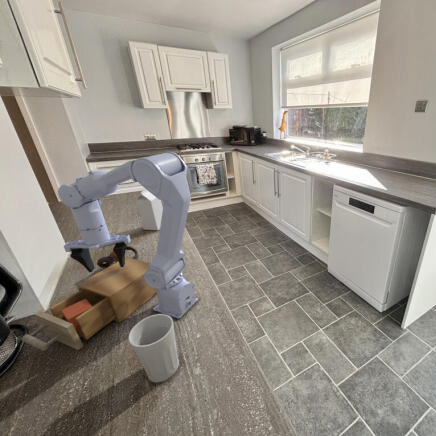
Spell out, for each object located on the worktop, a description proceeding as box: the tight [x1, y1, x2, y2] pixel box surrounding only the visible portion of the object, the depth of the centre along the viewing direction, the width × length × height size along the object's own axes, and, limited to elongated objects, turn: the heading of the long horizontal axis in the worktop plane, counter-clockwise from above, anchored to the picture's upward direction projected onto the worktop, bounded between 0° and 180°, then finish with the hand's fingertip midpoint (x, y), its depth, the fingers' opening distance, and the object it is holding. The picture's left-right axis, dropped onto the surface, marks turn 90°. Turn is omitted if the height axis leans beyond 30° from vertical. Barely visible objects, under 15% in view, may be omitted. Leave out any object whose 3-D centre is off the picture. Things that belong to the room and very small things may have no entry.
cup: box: [128, 313, 180, 383], centre depth 51 cm, size 8×8×12 cm
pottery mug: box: [96, 245, 139, 269], centre depth 86 cm, size 12×10×8 cm
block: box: [61, 299, 93, 333], centre depth 61 cm, size 5×5×5 cm
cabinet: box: [76, 256, 157, 323], centre depth 71 cm, size 15×13×9 cm
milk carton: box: [135, 189, 163, 231], centre depth 112 cm, size 7×7×19 cm
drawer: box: [20, 289, 116, 351], centre depth 60 cm, size 18×11×7 cm, turn 161°
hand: (107, 267), depth 69 cm, fingers open, 7 cm apart
